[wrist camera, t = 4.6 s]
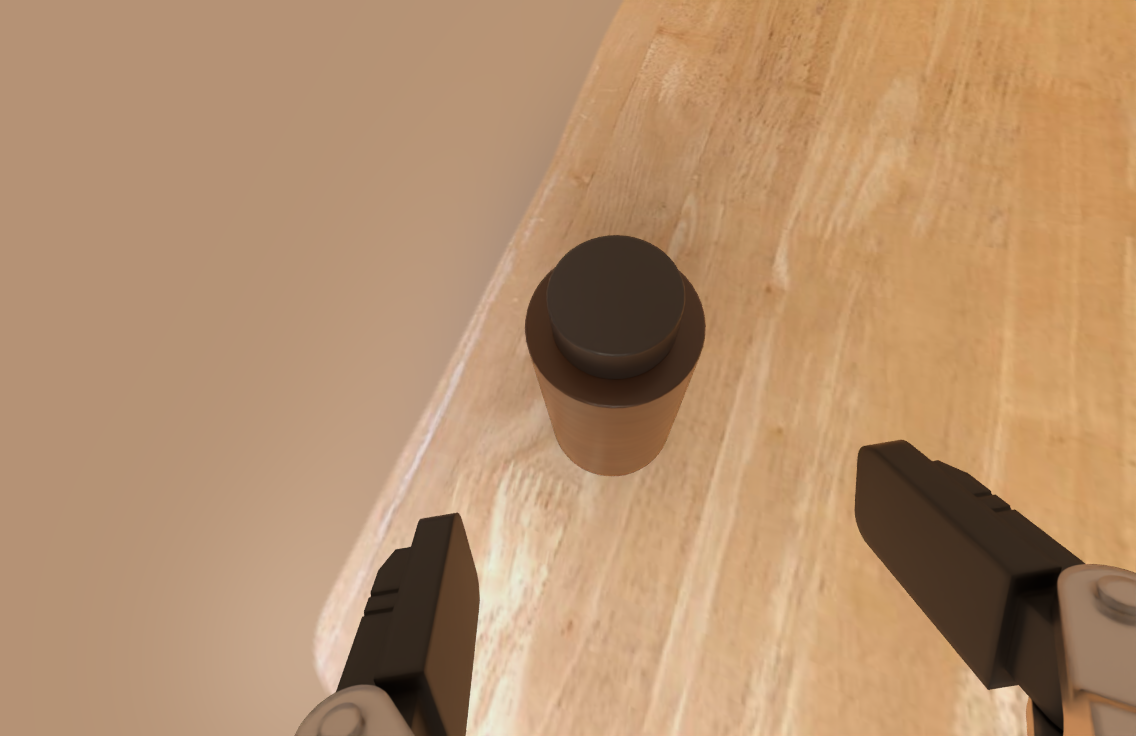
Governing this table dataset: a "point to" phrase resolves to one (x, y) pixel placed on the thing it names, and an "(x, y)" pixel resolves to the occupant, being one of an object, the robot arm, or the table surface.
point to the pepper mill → (614, 350)
